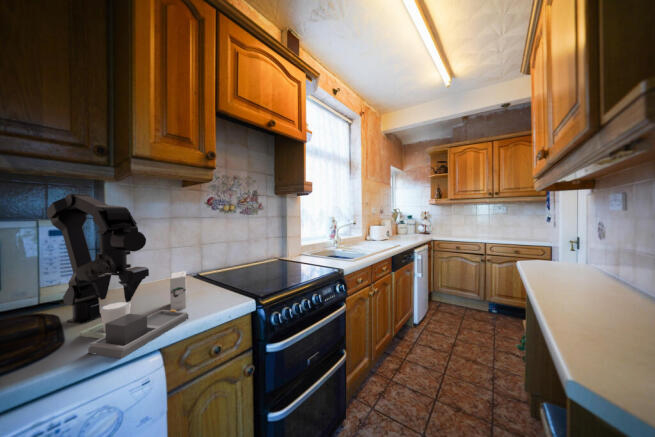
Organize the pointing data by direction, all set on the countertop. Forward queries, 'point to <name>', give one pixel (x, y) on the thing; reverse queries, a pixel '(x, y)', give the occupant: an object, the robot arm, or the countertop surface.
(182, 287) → the ink box
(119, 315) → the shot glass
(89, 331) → the tray rim
